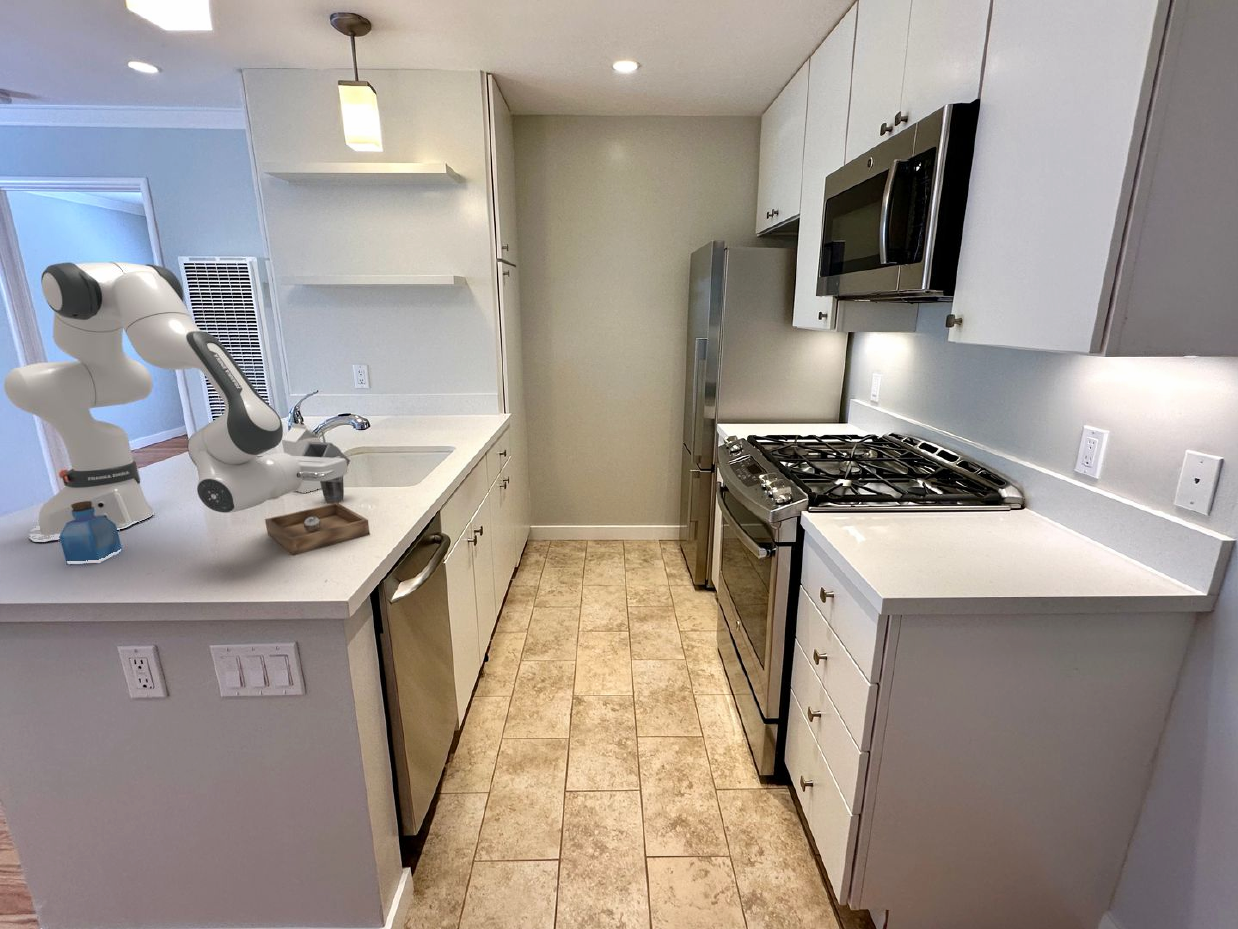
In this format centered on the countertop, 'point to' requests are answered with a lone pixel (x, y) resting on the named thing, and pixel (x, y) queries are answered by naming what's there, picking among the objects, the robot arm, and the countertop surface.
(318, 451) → the grey ball display stand
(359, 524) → the walnut tray
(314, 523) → the steel ball
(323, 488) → the beverage cup
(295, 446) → the milk carton
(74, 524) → the perfume bottle
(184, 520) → the countertop surface
